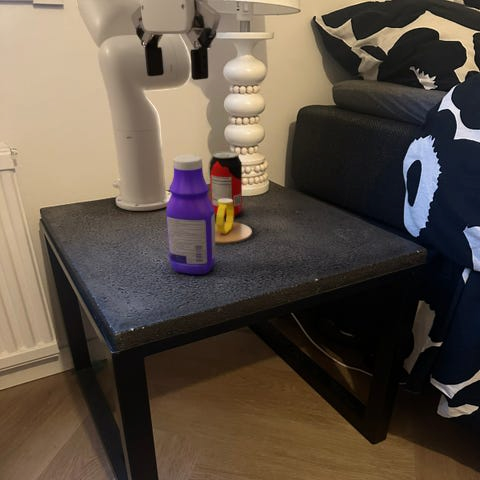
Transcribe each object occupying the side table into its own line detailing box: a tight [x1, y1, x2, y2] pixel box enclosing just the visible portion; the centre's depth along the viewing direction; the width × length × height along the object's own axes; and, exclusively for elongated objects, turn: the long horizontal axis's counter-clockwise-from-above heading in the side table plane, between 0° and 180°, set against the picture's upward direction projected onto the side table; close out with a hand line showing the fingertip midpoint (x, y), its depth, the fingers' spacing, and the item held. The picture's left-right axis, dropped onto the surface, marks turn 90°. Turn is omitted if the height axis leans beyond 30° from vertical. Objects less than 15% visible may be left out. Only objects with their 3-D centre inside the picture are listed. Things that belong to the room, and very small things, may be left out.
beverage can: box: [209, 150, 243, 219], centre depth 95 cm, size 6×6×12 cm
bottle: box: [165, 154, 216, 275], centre depth 72 cm, size 7×6×17 cm
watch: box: [215, 198, 235, 234], centre depth 87 cm, size 6×3×6 cm, turn 162°
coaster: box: [215, 221, 253, 245], centre depth 89 cm, size 10×10×1 cm
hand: (177, 77), depth 75 cm, fingers open, 9 cm apart
